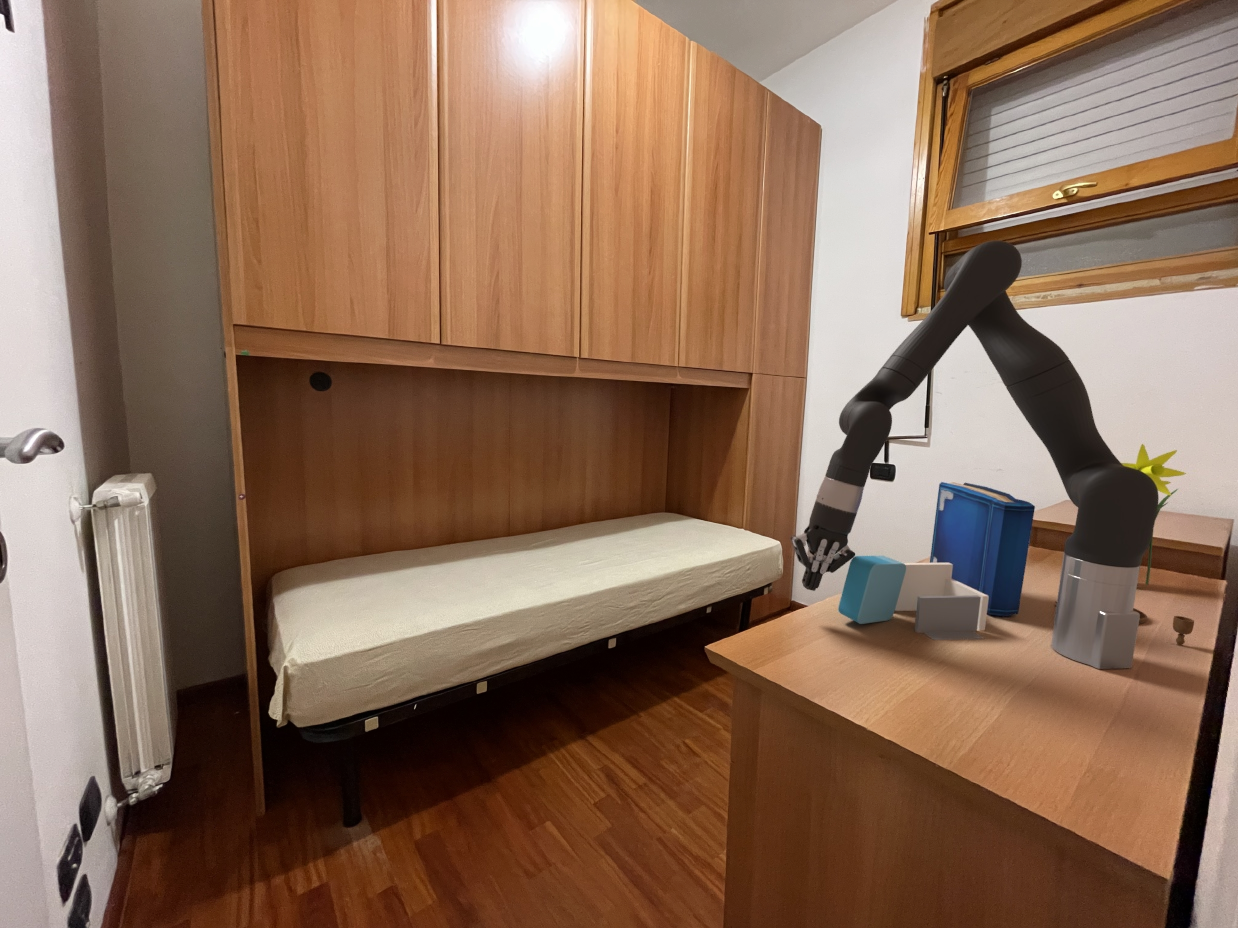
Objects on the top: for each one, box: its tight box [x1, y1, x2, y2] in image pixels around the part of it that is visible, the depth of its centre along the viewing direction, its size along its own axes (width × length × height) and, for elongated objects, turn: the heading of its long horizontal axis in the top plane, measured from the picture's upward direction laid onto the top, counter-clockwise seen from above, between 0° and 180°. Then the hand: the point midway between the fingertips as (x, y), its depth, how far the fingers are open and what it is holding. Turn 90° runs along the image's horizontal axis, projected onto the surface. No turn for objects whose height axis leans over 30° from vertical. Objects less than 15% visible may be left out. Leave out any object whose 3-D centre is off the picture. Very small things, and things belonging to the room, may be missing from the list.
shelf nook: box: [894, 562, 989, 641], centre depth 96 cm, size 14×14×10 cm
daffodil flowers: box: [1120, 443, 1187, 586], centre depth 119 cm, size 17×15×35 cm
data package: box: [837, 555, 906, 625], centre depth 96 cm, size 12×4×12 cm, turn 121°
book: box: [929, 481, 1036, 617], centre depth 108 cm, size 22×7×25 cm, turn 179°
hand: (808, 588), depth 95 cm, fingers closed
